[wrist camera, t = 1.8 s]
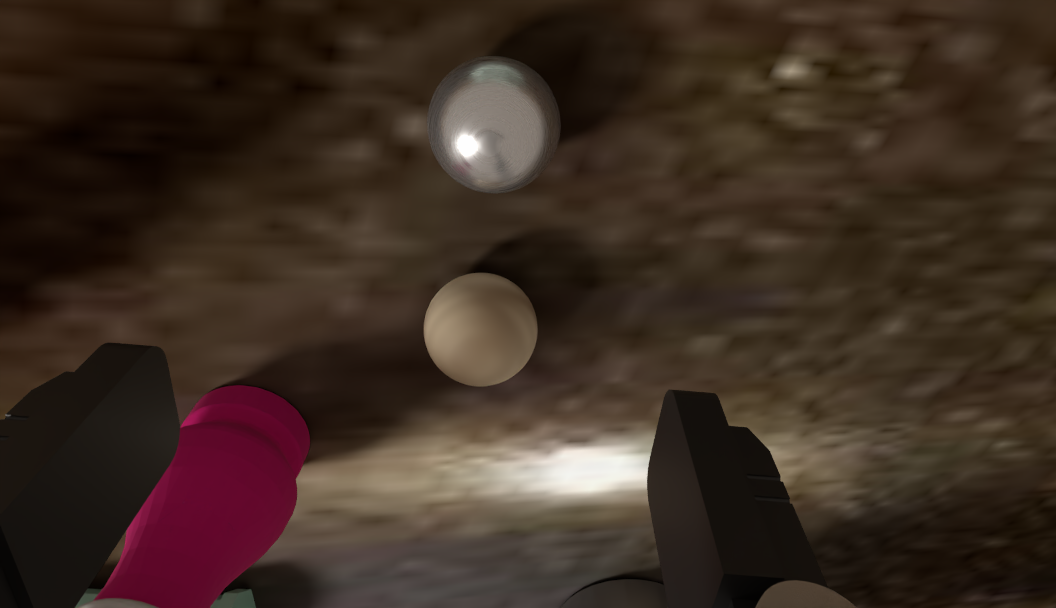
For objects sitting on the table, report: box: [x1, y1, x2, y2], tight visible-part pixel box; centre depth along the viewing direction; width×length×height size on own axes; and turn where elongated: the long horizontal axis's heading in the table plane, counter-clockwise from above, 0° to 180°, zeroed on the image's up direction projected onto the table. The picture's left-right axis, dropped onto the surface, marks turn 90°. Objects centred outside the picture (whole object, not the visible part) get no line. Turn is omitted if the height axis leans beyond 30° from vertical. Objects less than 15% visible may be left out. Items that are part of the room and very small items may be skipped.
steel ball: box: [427, 56, 561, 193], centre depth 26 cm, size 5×5×5 cm
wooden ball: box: [424, 273, 538, 386], centre depth 31 cm, size 5×5×5 cm
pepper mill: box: [77, 385, 310, 608], centre depth 28 cm, size 7×7×20 cm
